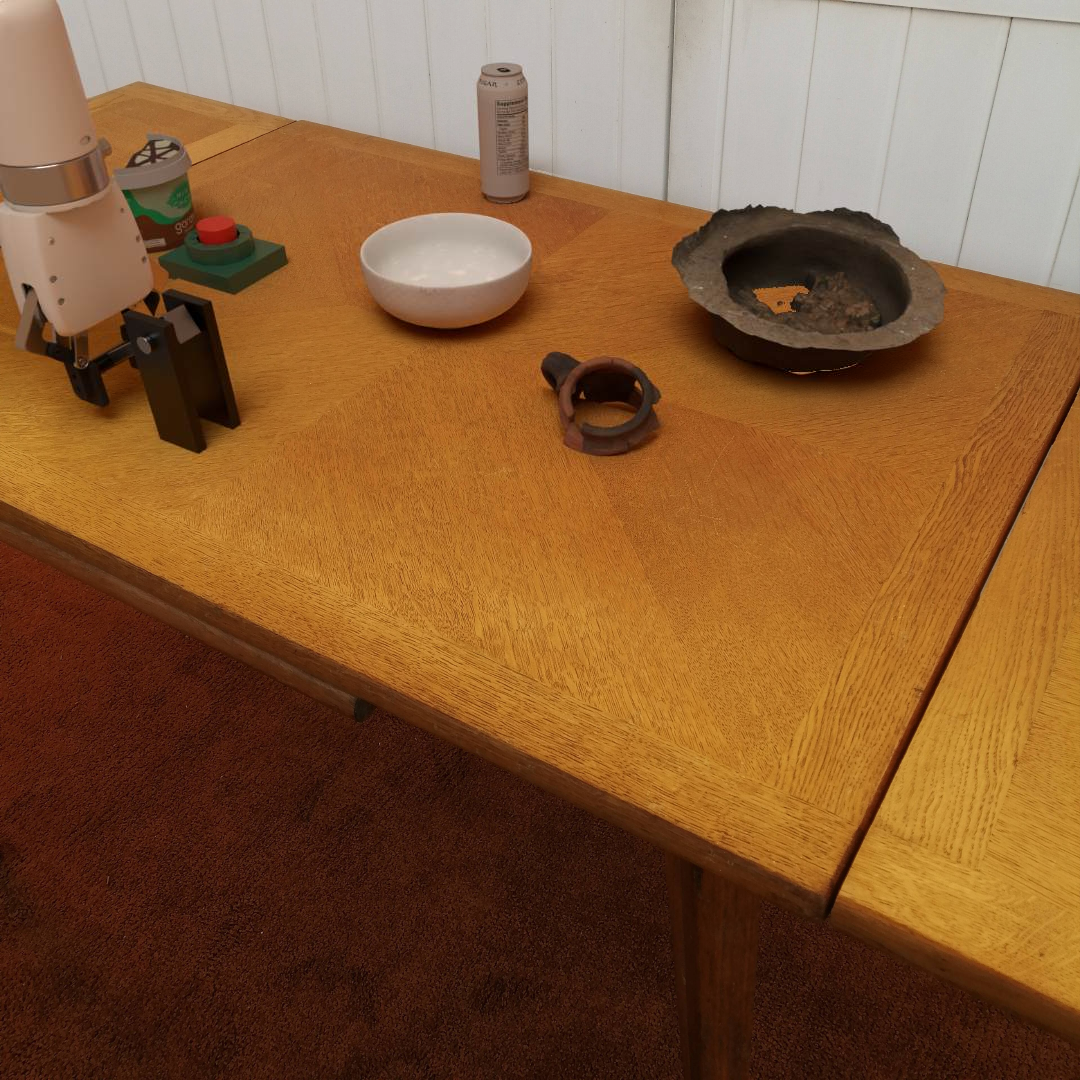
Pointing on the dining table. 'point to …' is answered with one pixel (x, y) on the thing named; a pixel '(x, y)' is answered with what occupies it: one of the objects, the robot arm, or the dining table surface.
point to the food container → (159, 192)
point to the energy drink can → (503, 132)
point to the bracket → (183, 372)
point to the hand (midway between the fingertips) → (120, 384)
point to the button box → (224, 261)
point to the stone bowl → (808, 285)
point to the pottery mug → (601, 400)
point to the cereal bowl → (447, 268)
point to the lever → (124, 350)
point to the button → (216, 230)
